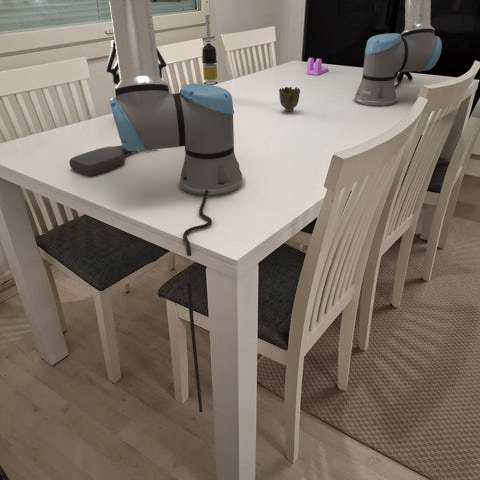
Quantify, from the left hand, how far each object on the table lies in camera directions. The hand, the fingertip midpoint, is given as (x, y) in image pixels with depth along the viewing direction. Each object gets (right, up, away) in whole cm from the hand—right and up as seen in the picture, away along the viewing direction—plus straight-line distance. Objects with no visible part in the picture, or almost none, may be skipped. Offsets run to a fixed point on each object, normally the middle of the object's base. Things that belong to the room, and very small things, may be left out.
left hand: (139, 91), depth 153 cm
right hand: (+103, +14, -25) cm, 107 cm away
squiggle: (+107, +21, +47) cm, 118 cm away
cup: (+52, -5, +8) cm, 53 cm away
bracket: (+73, +31, +64) cm, 102 cm away
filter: (+23, +5, +25) cm, 35 cm away
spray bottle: (0, -29, -29) cm, 40 cm away
